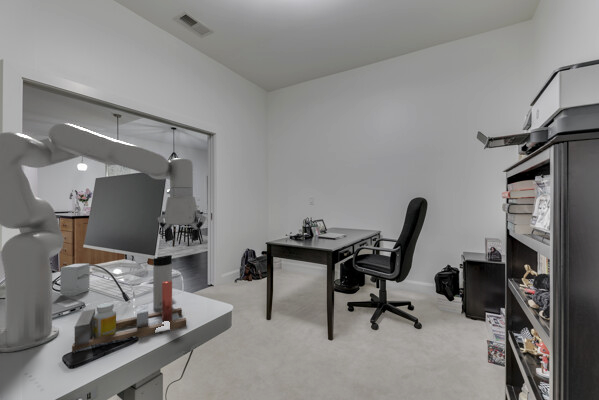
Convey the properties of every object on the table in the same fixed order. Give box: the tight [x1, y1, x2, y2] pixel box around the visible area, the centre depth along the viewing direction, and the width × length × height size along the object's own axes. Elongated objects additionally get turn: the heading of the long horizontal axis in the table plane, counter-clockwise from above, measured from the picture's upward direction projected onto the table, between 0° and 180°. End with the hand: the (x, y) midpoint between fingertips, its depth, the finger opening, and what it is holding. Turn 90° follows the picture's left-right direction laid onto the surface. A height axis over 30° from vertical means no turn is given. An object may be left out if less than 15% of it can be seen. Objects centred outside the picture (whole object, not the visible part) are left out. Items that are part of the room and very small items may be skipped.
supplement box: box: [59, 263, 91, 297], centre depth 117 cm, size 7×7×13 cm
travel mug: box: [152, 254, 173, 312], centre depth 98 cm, size 6×7×20 cm
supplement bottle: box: [93, 301, 117, 338], centre depth 77 cm, size 5×5×10 cm
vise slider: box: [136, 280, 181, 329], centre depth 84 cm, size 12×7×13 cm, turn 122°
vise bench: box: [71, 307, 187, 353], centre depth 81 cm, size 28×12×7 cm, turn 122°
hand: (182, 240), depth 93 cm, fingers open, 9 cm apart
